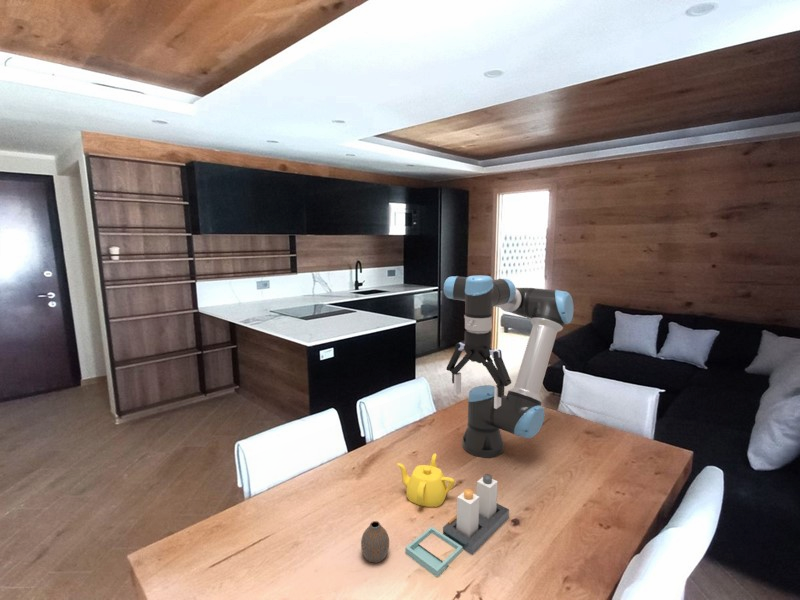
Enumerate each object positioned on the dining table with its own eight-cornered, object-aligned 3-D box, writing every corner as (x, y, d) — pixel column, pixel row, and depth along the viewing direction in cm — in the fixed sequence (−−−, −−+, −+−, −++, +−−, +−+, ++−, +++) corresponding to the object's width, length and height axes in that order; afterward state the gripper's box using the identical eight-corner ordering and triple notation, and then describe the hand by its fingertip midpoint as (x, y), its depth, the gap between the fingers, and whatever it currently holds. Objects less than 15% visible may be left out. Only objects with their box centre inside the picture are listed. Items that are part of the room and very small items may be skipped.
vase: (361, 546, 99) (361, 515, 98) (388, 544, 100) (388, 513, 99) (361, 568, 92) (360, 535, 91) (390, 566, 93) (390, 533, 92)
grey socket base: (442, 539, 102) (443, 525, 101) (480, 505, 115) (481, 493, 114) (472, 558, 96) (472, 544, 95) (508, 521, 108) (509, 508, 108)
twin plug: (475, 518, 108) (477, 476, 106) (483, 510, 111) (485, 470, 109) (488, 525, 105) (490, 482, 103) (496, 517, 108) (497, 476, 106)
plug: (456, 535, 102) (457, 491, 100) (465, 527, 104) (466, 484, 103) (469, 543, 99) (470, 498, 97) (477, 535, 102) (479, 491, 100)
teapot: (435, 479, 127) (435, 451, 125) (457, 505, 115) (458, 474, 113) (396, 490, 121) (396, 461, 120) (415, 518, 109) (416, 486, 108)
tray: (405, 554, 97) (405, 547, 96) (431, 533, 104) (431, 526, 103) (437, 578, 90) (437, 571, 89) (462, 554, 97) (462, 546, 97)
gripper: (435, 326, 117) (435, 392, 121) (512, 340, 100) (509, 417, 104) (449, 321, 122) (449, 385, 126) (525, 334, 106) (522, 408, 109)
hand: (476, 400), depth 115 cm, fingers open, 13 cm apart
